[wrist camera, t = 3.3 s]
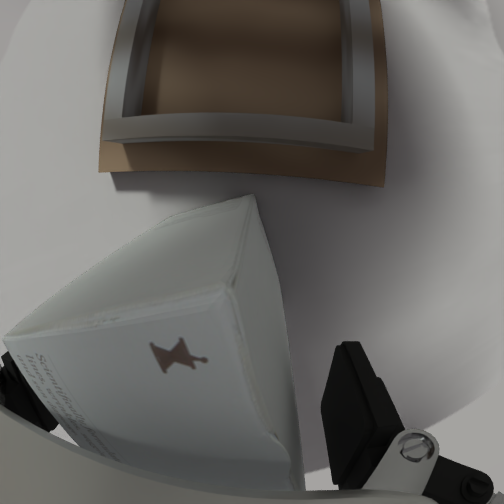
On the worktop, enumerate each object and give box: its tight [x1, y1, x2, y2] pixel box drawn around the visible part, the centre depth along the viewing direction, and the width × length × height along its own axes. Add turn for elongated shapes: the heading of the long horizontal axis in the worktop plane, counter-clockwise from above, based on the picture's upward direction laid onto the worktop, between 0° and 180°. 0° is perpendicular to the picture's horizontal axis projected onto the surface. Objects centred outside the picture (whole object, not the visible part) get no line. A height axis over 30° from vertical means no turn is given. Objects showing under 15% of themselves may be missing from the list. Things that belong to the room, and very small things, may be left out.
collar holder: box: [99, 0, 388, 187], centre depth 13 cm, size 18×18×4 cm
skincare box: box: [2, 195, 306, 491], centre depth 12 cm, size 8×6×15 cm
